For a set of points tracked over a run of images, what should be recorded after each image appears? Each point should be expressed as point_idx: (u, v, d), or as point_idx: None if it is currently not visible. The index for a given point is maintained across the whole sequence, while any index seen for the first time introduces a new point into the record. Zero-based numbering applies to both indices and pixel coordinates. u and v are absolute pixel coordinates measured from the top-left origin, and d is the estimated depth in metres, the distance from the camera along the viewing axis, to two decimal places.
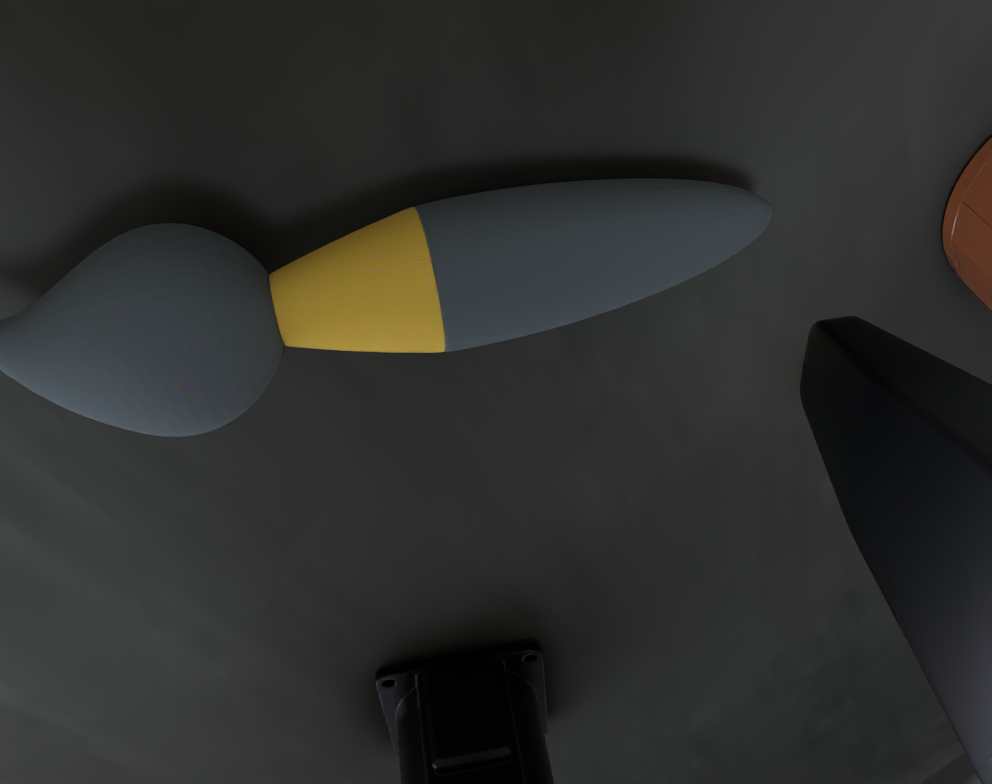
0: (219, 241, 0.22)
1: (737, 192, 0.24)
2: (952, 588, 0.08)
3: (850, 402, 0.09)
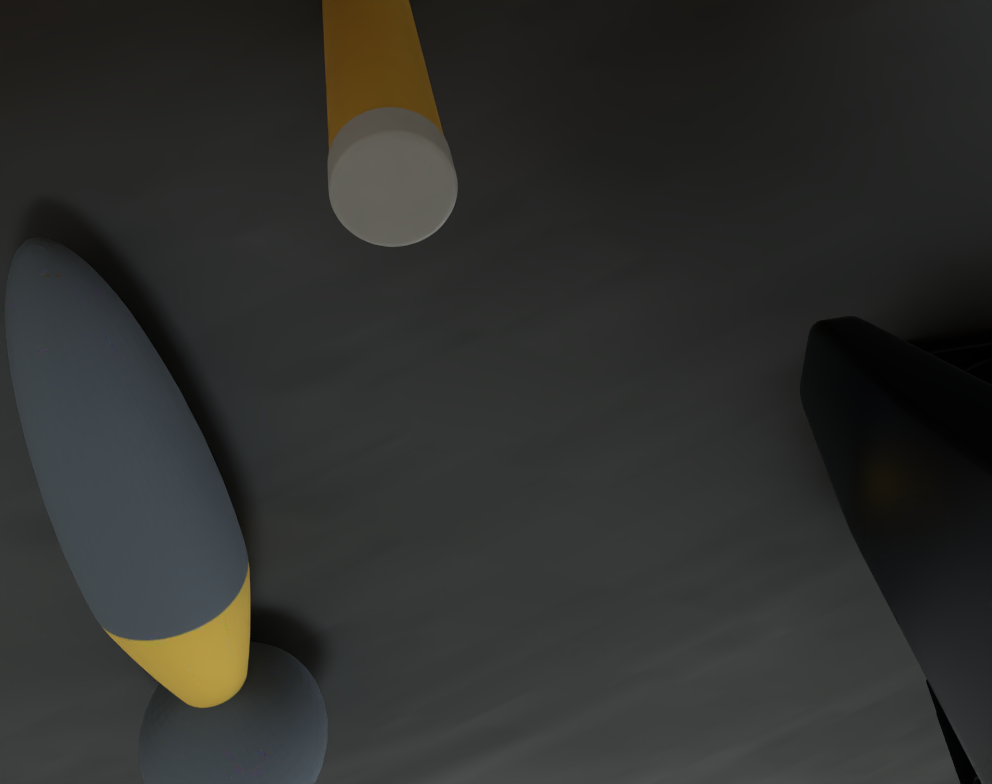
0: (151, 700, 0.25)
1: (5, 301, 0.18)
2: (952, 588, 0.08)
3: (850, 402, 0.09)
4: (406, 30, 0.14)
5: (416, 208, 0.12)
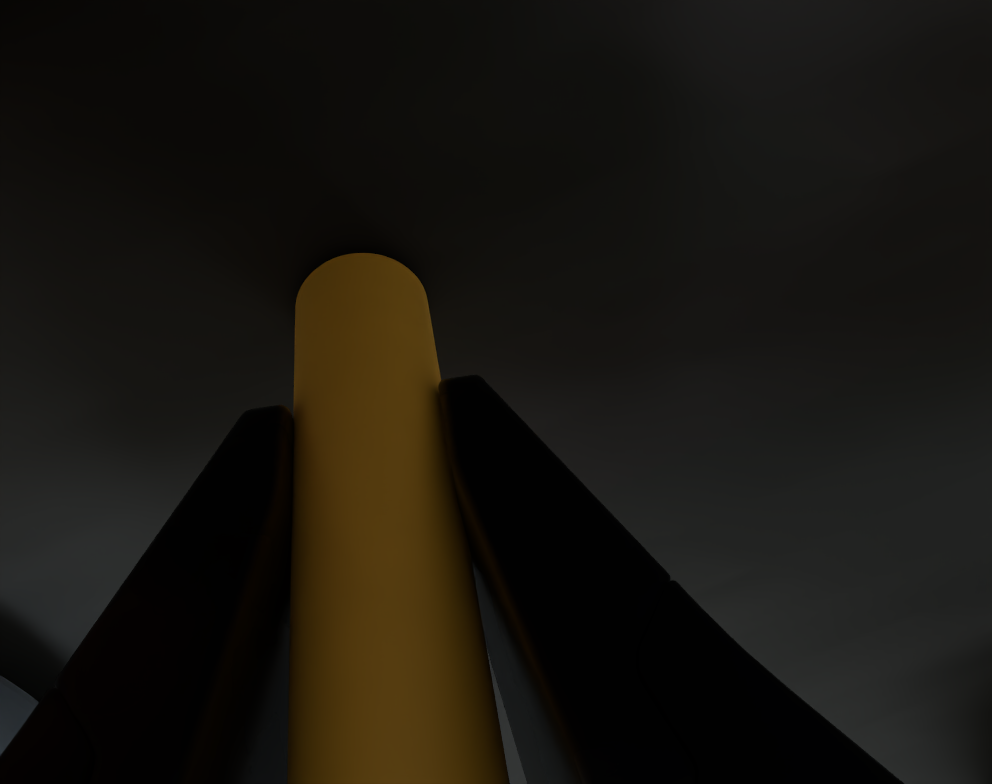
0: None
1: None
2: (505, 667, 0.08)
3: None
4: (429, 449, 0.08)
5: None
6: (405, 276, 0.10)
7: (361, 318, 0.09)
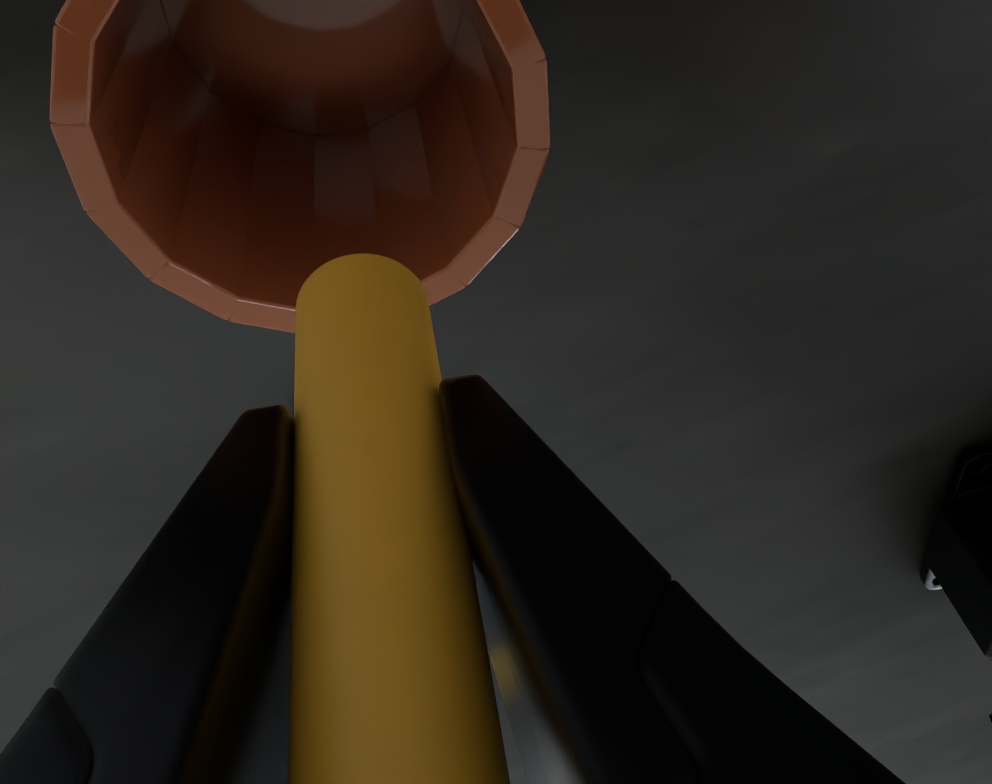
0: None
1: None
2: (506, 667, 0.08)
3: None
4: (429, 451, 0.08)
5: None
6: (406, 276, 0.10)
7: (361, 319, 0.09)
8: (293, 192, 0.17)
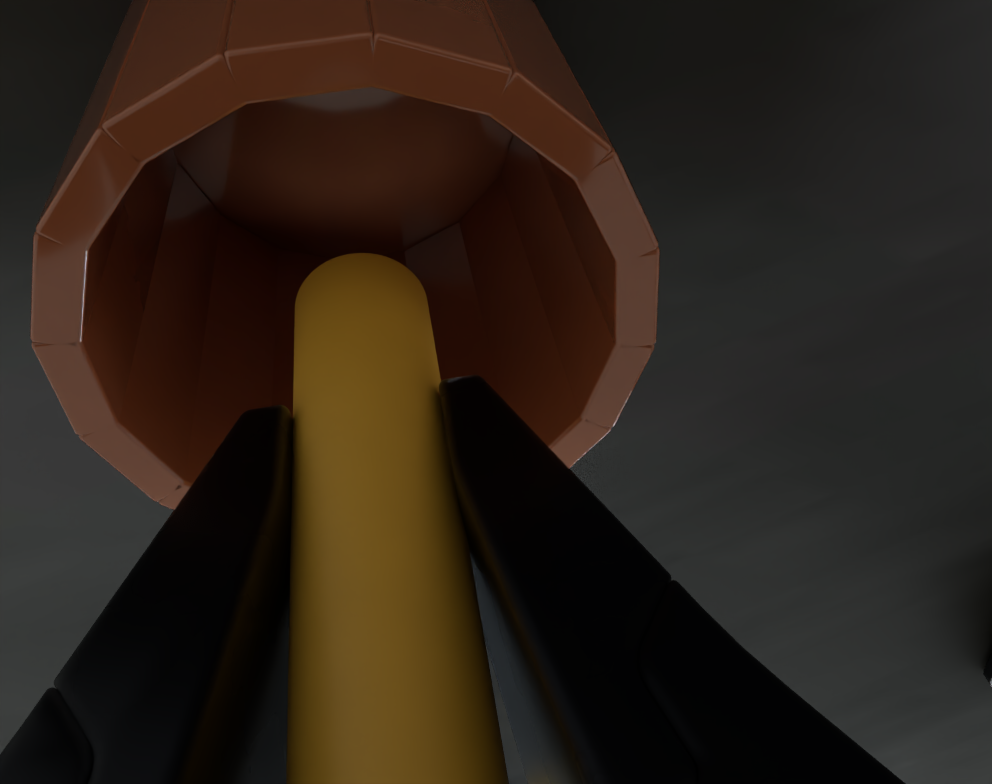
0: None
1: None
2: (506, 667, 0.08)
3: None
4: (428, 450, 0.08)
5: None
6: (405, 276, 0.10)
7: (360, 318, 0.09)
8: None
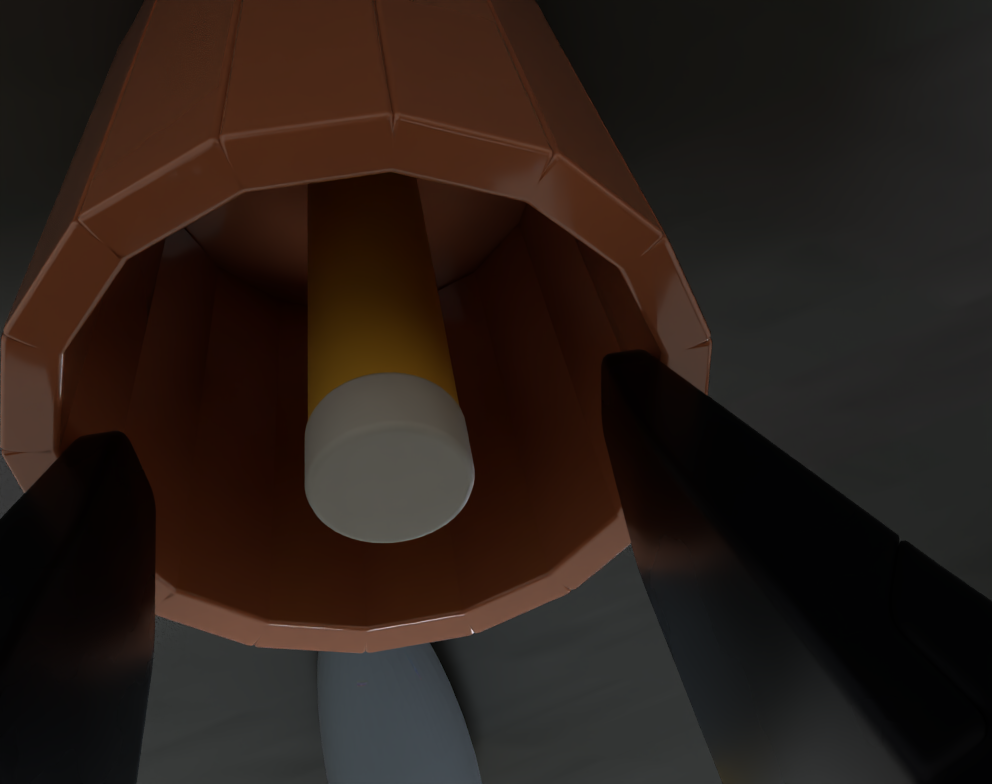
0: None
1: None
2: (702, 632, 0.08)
3: (626, 439, 0.09)
4: (407, 217, 0.11)
5: (420, 503, 0.09)
6: None
7: None
8: None
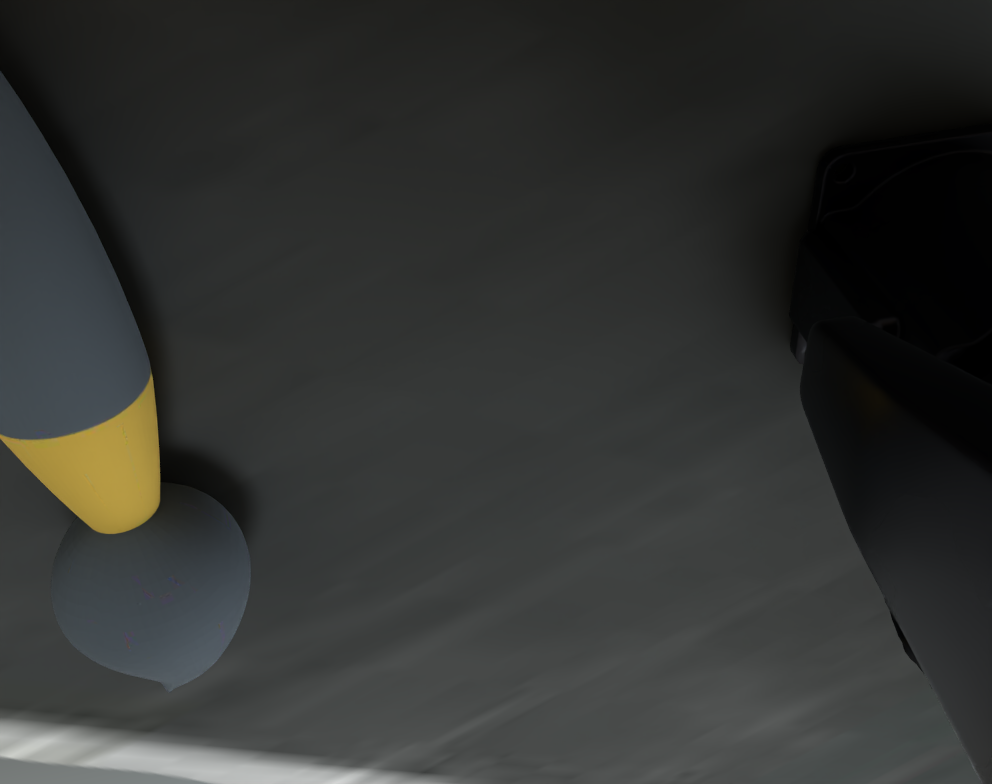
0: (64, 536, 0.25)
1: None
2: (952, 588, 0.08)
3: (850, 402, 0.09)
4: None
5: None
6: None
7: None
8: None
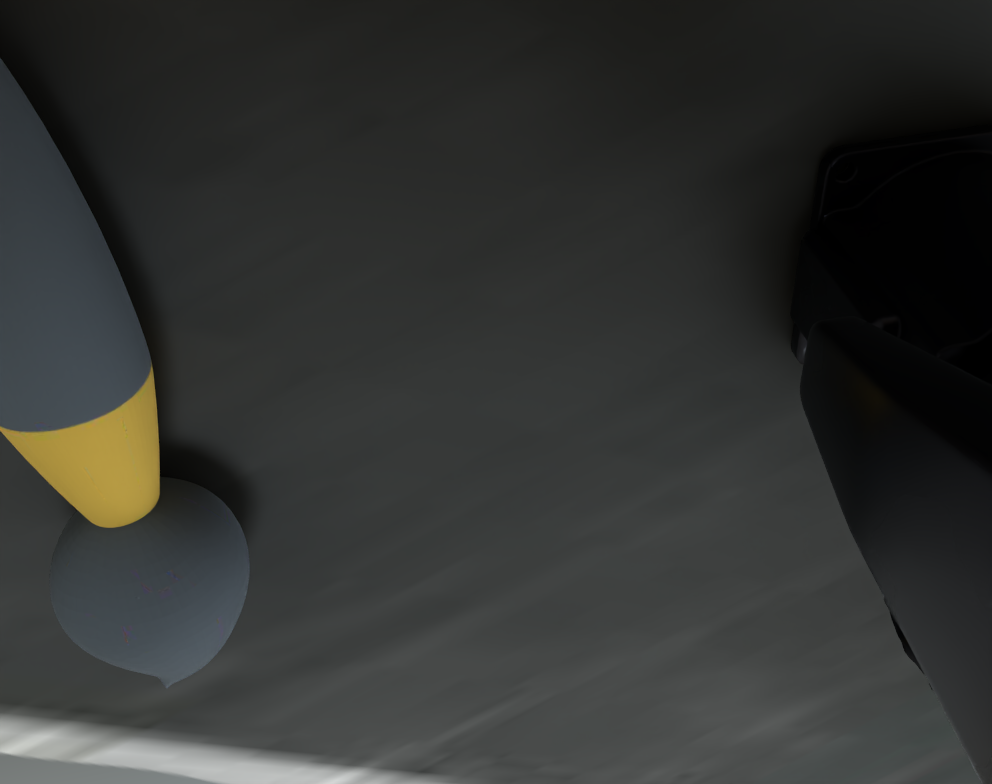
0: (63, 530, 0.25)
1: None
2: (952, 588, 0.08)
3: (850, 402, 0.09)
4: None
5: None
6: None
7: None
8: None
